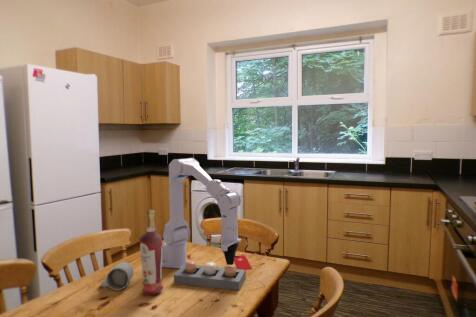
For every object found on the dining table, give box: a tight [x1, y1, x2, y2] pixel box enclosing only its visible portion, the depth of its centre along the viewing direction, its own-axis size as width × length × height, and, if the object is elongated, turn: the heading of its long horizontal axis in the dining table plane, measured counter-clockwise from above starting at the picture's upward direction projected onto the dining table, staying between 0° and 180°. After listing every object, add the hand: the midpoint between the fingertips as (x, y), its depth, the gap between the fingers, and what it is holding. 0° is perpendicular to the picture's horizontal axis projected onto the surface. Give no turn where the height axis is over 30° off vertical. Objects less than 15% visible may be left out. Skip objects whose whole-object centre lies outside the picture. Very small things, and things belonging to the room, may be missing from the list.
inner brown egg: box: [185, 260, 197, 273], centre depth 121 cm, size 4×4×3 cm
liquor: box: [139, 209, 164, 296], centre depth 110 cm, size 7×7×28 cm
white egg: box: [204, 261, 217, 275], centre depth 119 cm, size 4×4×3 cm
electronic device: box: [233, 255, 253, 271], centre depth 136 cm, size 6×1×15 cm
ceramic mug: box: [100, 261, 134, 291], centre depth 116 cm, size 11×8×8 cm
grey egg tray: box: [173, 264, 247, 291], centre depth 119 cm, size 24×10×3 cm, turn 76°
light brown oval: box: [223, 263, 237, 277], centre depth 117 cm, size 4×4×3 cm
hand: (230, 264), depth 117 cm, fingers closed
